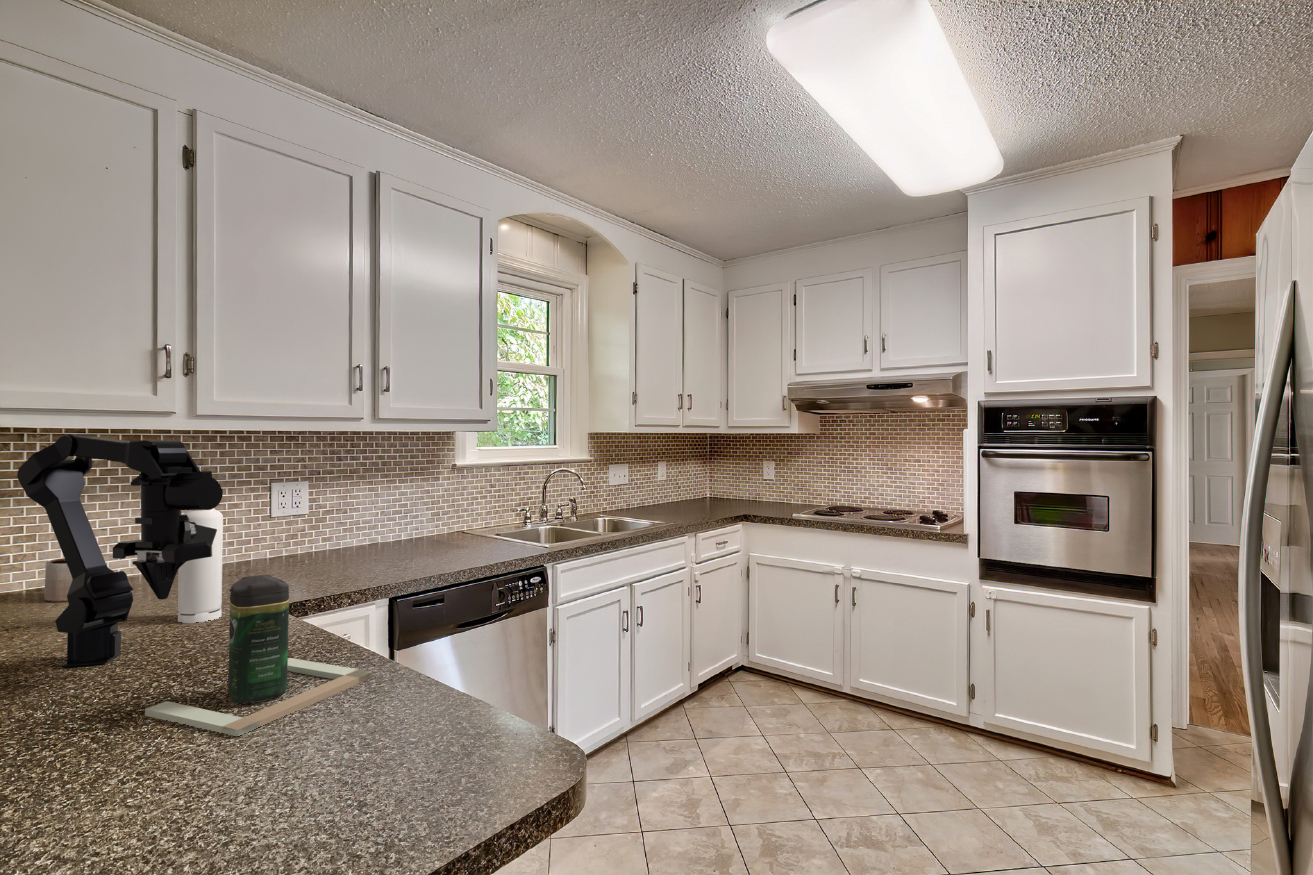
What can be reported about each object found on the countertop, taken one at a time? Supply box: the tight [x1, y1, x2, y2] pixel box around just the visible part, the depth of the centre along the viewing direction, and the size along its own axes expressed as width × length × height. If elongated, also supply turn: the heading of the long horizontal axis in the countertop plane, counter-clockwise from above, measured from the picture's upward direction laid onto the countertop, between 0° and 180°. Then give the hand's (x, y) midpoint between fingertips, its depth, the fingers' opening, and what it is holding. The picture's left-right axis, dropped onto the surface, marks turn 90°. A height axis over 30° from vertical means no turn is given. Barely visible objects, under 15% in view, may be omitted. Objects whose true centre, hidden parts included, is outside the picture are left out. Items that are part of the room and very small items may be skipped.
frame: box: [144, 657, 373, 737], centre depth 102 cm, size 19×24×1 cm
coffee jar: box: [227, 574, 290, 704], centre depth 102 cm, size 10×8×19 cm
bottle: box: [177, 508, 224, 624], centre depth 145 cm, size 8×8×28 cm
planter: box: [43, 557, 73, 603], centre depth 163 cm, size 11×11×10 cm
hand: (162, 598), depth 113 cm, fingers closed
